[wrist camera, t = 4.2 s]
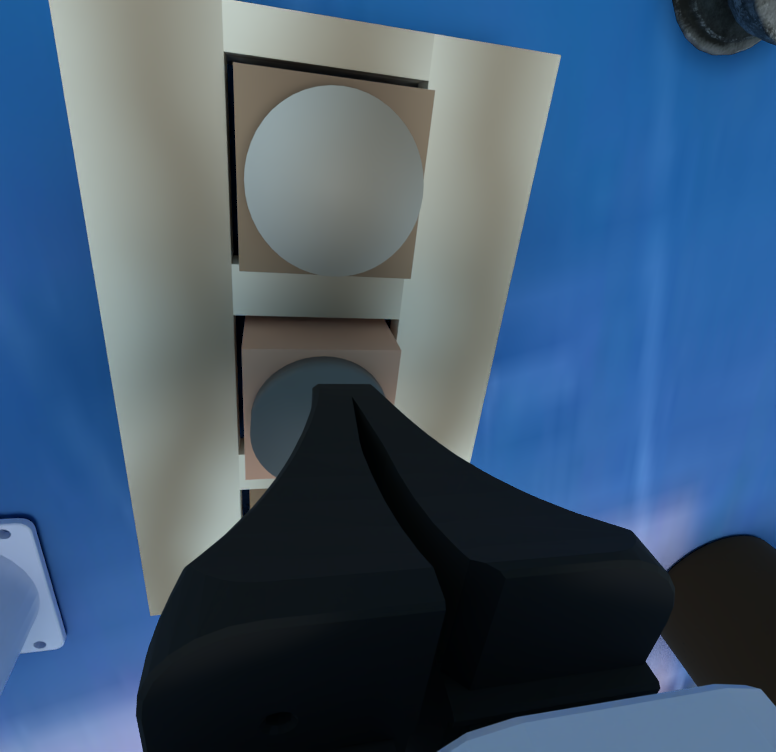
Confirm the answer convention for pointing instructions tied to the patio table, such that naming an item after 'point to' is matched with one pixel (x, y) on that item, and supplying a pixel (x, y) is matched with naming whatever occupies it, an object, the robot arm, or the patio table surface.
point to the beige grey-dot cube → (304, 376)
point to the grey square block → (261, 289)
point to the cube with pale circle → (328, 172)
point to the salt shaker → (726, 24)
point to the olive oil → (726, 614)
